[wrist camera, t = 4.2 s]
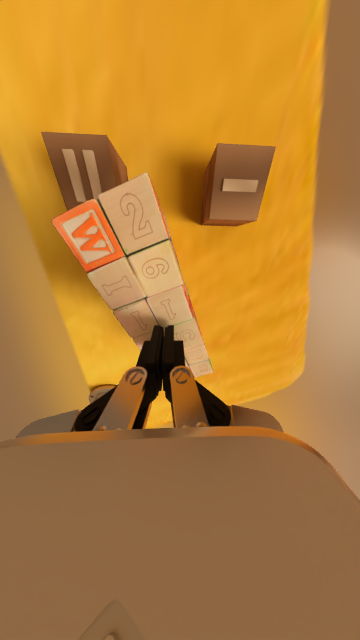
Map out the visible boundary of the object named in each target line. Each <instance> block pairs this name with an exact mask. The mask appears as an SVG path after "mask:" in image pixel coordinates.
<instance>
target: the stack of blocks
mask: <svg viewBox="0 0 360 640" xmlns="http://www.w3.org/2000/svg"><path fill="white" fill-rule="evenodd" d="M98 199H99V200H97V199H91V200H89V201H86V202H84V203H82V204H80V205H78V206H76V207H74V208H72V209H70V210H68V211H67V212H65V213H63V214H61V215H59V216H57V217H55V218H54V219H52V221H51V222H52V223H53V225H54V226H55V228H56V229H57V231H58V232H59V234H60V235H61V236H62V238H63V239H64V241H65V242H66V244H67V245H68V246H69V248H70V249H71V251H72V252H73V254H74V255H75V257H76V258H77V259H78V261H79V262H80V264H81V265H82V267H83V268H84V270H85V271H87V277H88V278H89V280H90V281H91V282H92V284H93V285H94V287H95V288H96V289H97V291H98V292H99V294H100V295H101V296H102V298H103V299H104V301H105V302H106V303H107V305H108V306H109V307H110V309H111V310H114V311H113V313H114V315H115V316H116V318H117V319H118V320H119V322H120V323H121V325H122V326H123V327H124V329H125V330H126V331H127V333H128V334H129V336H130V337H132V338H133V340H134V342H135V343H136V345H137V346H138V347H139V349H140V350H141V349H142V346H143V343H144V341H150V340H151V336H152V332H153V328H154V325H161V327H163V329H164V333H165V327H168V325H174V340H183V344H184V355H185V366H186V367H188V368H189V369H190V370H191V371H192V373H193V376H194V377H198V376H202V375H205V374H210V373H213V369H212V366H211V363H210V359H209V357H208V353H207V350H206V347H205V344H204V341H203V338H202V335H201V332H200V329H199V325H198V322H197V319H196V316H195V313H194V310H193V307H192V304H191V300H190V298H189V295H188V291H187V288H186V286H185V283H184V280H183V277H182V273H181V270H180V267H179V263H178V259H177V256H176V253H175V250H174V246H173V243H172V239H171V236H170V232H169V229H168V226H167V223H166V219H165V216H164V214H163V212H162V210H161V207H160V204H159V201H158V198H157V195H156V193H155V190H154V187H153V185H152V182H151V179H150V177H149V174H148V173H143V174H141V175H139V176H137V177H135V178H133V179H131V180H129V181H127V182H125V183H123V184H121V185H119V186H117V187H115V188H112V189H110V190H108V191H106V192H104V193H101V194H100V195H98Z"/></svg>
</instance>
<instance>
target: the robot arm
mask: <svg viewBox="0 0 360 640" xmlns="http://www.w3.org/2000/svg"><path fill="white" fill-rule="evenodd" d="M162 379H163V391H165V396H166V398H167V400H168V401H169V402H170V403H171V410H172V419H173V427H174V428H160V429H159V428H158V429H145V427H146V423H147V420H148V416H149V412H150V409H151V405H152V401H153V400H154V399H155V398H156V396H158V392H159V391H161V389H162ZM89 401H90V403H91V404H90V405H88V406H87V407H86V408H85V409H83V410H81V411H79V410H74V411H70V412H66V413H62V414H59V415H55V416H51V417H47V418H43V419H39V420H37V421H34V422H32V423H31V424H29V425H27V426H26V427H25V428H24V429H23V430H21V431H20V433H19V434H18V435H17V436H16V437H15V438H13V439H9V440H6V441H2V442H0V640H360V500H359V499H358V497H357V496H356V495H355V493H354V492H353V491H352V490H351V488H350V487H349V486H348V485H347V483H346V482H345V481H344V480H343V478H342V477H341V476H340V475H339V474H338V472H337V471H336V470H335V469H334V468H333V466H332V465H331V464H330V463H329V462H328V461H327V460H326V459H325V458H324V457H323V456H322V455H321V454H320V453H319V452H318V451H316V450H315V449H314V448H312V447H311V446H309V445H308V444H306V443H305V442H303V441H301V440H299V439H297V438H295V437H293V436H291V435H289V434H286V433H284V432H283V430H282V428H281V425H280V424H279V422H278V421H277V420H276V419H275V418H274V417H273V416H271V415H270V414H268V413H266V412H262V411H258V410H253V409H249V408H244V407H240V406H235V405H231V406H228V405H226V404H225V403H224V402H222V401H221V400H220V399H219V398H217V397H216V396H215V395H214V394H212V393H211V392H210V391H208V390H207V389H206V388H205V387H203V386H202V385H201V384H200V383H198V382H197V381H196V380H195V379H194V376H193V373H192V371H191V370H190V369H189V368H188V367H186V366H185V355H184V344H183V340H174V325H168V327H165V333H164V329H163V327H161V325H154V328H153V332H152V336H151V340H150V341H144V343H143V346H142V349H141V352H140V355H139V359H138V362H137V365H136V367H133V368H131V369H129V370H128V371H126V372H125V374H124V375H123V377H122V379H121V381H120V382H119V384H118V385H117V386H112V385H106V386H100V387H97V388H95V389H94V390H93V391H92V392H91V393H90V395H89Z"/></svg>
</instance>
